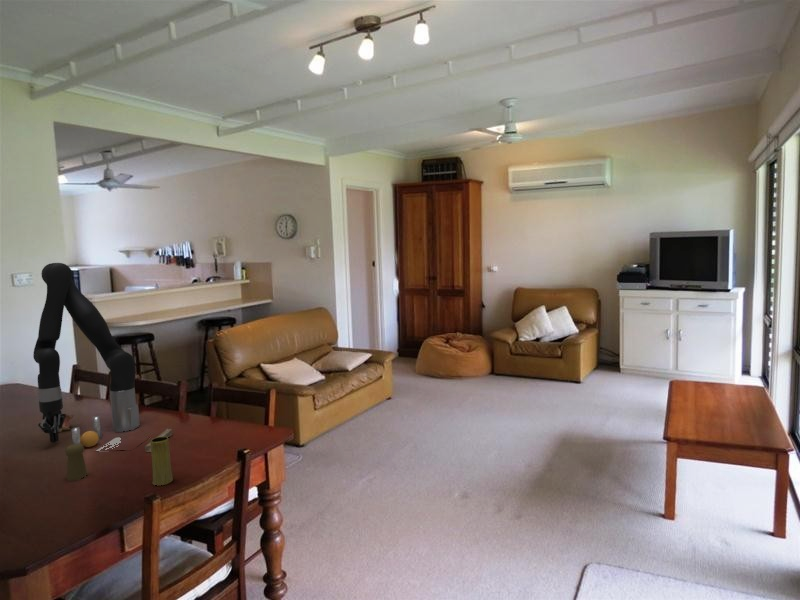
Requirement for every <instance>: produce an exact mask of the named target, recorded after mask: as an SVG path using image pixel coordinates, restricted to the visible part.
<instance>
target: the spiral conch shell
mask: <svg viewBox="0 0 800 600" xmlns="http://www.w3.org/2000/svg"><path fill="white" fill-rule="evenodd" d="M65 414H66V417H65V420H64V423H63V425H62V428H61V429H59V431H58V433H61V432H62V430H63V431H71V428H70V427H71V423H70V422H69V421H70V420H72V419H73V418H74V417H75V415H74V414H67V413H65Z"/></svg>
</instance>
